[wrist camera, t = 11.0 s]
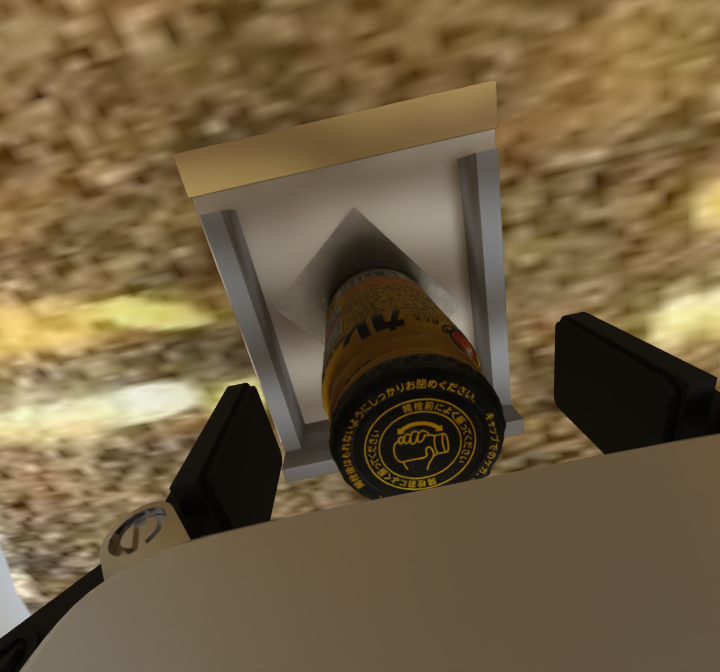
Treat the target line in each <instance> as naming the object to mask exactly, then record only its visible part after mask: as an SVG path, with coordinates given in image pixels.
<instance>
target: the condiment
mask: <svg viewBox="0 0 720 672" xmlns="http://www.w3.org/2000/svg"><path fill="white" fill-rule="evenodd" d="M323 299H324V301H325V302H323ZM460 305H461V304H460V303H458V302H457V301H456V300H455V299H454V298H453V297H452V296H451V295H450V294H449V293H447V292H446V291H445V290H444V289H443V288H442V287H441V286H440V285H439V284H438V283H437V282H435V281H434V280H433V279H432V278H431V277H430V276H429V275H428V274H427V273H426V272H425V271H423V270H422V269H421V268H420V267H419V266H418V265H417V264H416V263H415V262H414V261H413V260H411V259H410V257H408V256H407V255H406V254H405V253H404V252H403V251H402V250H401V249H399V248H398V247H397V246H396V245H395V244H394V243H393V242H392V241H391V240H390V239H389V238H387V237H386V236H385V235H384V234H383V233H382V232H381V231H380V230H379V229H378V228H376V227H375V226H374V225H373V224H372V223H371V222H370V221H369V220H368V219H367V218H366V217H365V216H363V215H362V214H361V213H360V212H359V211H358V210H357V209H356V208H355V207H354V208H353V209H352V210H351V211H350V212H349V214H348V215H347V216H346V217H345V219H344V220H343V221H342V222H341V224H340V225H339V226H338V227H337V229H336V230H335V231H334V232H333V234H332V235H331V236H330V237H329V239H328V240H327V241H326V242H325V243H324V245H323V246H322V247H321V248H320V250H319V251H318V252H317V253H316V255H315V256H314V257H313V258H312V260H311V261H310V262H309V263H308V265H307V266H306V267H305V268H304V270H303V271H302V272H301V273H300V275H299V276H298V277H297V279H296V280H295V281H294V282H293V284H292V285H291V286H290V287H289V288H288V290H287V291H286V292H285V294H284V295H283V296H282V297H281V299H280V300H279V301H278V302H277V304H276V305H275V306H274V307H273V308H274V309H276V310H277V311H279V312H280V313H281V314H282V315H283V316H285V317H286V318H288V319H289V320H291V321H292V322H293V323H295V324H296V325H297V326H298V327H300V328H301V329H302V330H304V331H306V332H307V333H308V334H309V335H311V336H312V337H313V338H314V339H316V340H318V341H319V342H320V343H322V344H323V345H324V346H325V350H324V354H323V357H324V358H323V371H322V383H321V386H322V400H323V408H324V410H325V412H326V414H327V417H328V420H329V424H330V430H329V432H330V437H329V441H328V442H329V448H330V453H331V456H332V457H333V461H334V462H335V463H336V465H337V467H338V469H339V471H340V472H341V474H342V476H343V479H344V480H345V482H346V483H347V484H349V485H350V486H351V487H352V488H353V489H354V490H356V491H357V492H359V493H360V494H362V495H363V496H364V497H366V498H369V499H371V500H375V499H380V498H386V497H391V496H396V495H401V494H406V493H411V492H416V491H421V490H426V489H431V488H436V487H441V486H446V485H451V484H456V483H461V482H466V481H471V480H476V479H481V478H484V477H486V476H488V475H489V474H490V471H491V468H492V466H493V464H494V463H495V462H496V460H497V459H498V457H499V455H500V453H501V450H502V444H503V440H504V432H505V429H506V421H505V418H504V414H503V407H502V404H501V402H500V399H499V397H498V395H497V394H496V392H495V390H494V388H493V387H492V386H491V385H490V383H489V382H488V381H487V379H486V378H485V376H483V374H482V369H481V364H480V361H479V358H478V355H477V352H476V351H475V349H474V347H473V346H472V344H471V343H470V342H469V341H468V339H467V338H466V336H465V335H464V334H463V333H462V331H461V330H460V329H458V327H457V326H456V325H455V324H454V323H453V322H452V321H451V320H450V318H449V317H450V316H451V315H452V314H453V313H454V312H455V310H456V309H457V308H458V307H459V306H460ZM325 306H327V308H325Z"/></svg>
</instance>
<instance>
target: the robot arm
mask: <svg viewBox="0 0 720 672" xmlns="http://www.w3.org/2000/svg"><path fill="white" fill-rule="evenodd" d="M716 382H717V377H715V376H713V375H711V374H709V373H707V372H705V371H703V370H701V369H699V368H697V367H695V366H693V365H691V364H689V363H687V362H685V361H683V360H681V359H679V358H677V357H675V356H673V355H671V354H669V353H667V352H665V351H663V350H661V349H659V348H657V347H655V346H653V345H651V344H649V343H647V342H645V341H643V340H641V339H639V338H637V337H635V336H633V335H631V334H629V333H627V332H625V331H623V330H621V329H619V328H617V327H615V326H613V325H611V324H609V323H606V322H604V321H602V320H600V319H598V318H596V317H594V316H592V315H590V314H588V313H586V312H580V313H575V314H570V315H566V316H563V317H562V318H561V320H560V322H557V323H556V326H555V367H554V400H555V403H556V405H557V407H558V408H559V409H560V410H561V411H562V412H563V413H564V414H565V415H566V416H567V417H568V418H569V419H570V420H571V421H572V422H573V423H574V424H575V425H576V426H577V427H578V428H579V429H580V430H581V431H582V432H583V433H584V434H585V435H586V436H587V437H588V438H589V439H590V440H591V441H592V442H593V443H594V444H595V445H596V446H597V447H598V448H599V449H600V450H601V451H602V452H603V453H604V454H605V455H600V456H594V457H589V458H584V459H579V460H574V461H568V462H563V463H558V464H553V465H548V466H543V467H538V468H533V469H527V470H522V471H517V472H512V473H507V474H502V475H497V476H492V477H486V478H481V479H476V480H471V481H466V482H461V483H456V484H451V485H446V486H441V487H436V488H431V489H426V490H421V491H416V492H411V493H406V494H401V495H396V496H391V497H386V498H380V499H375V500H370V501H365V502H360V503H356V504H351V505H346V506H341V507H336V508H331V509H326V510H321V511H316V512H311V513H306V514H301V515H296V516H291V517H286V518H281V519H277V520H272V521H270V518H271V513H272V509H273V504H274V499H275V494H276V490H277V485H278V480H279V476H280V471H281V466H282V455H281V451H280V448H279V446H278V443H277V441H276V438H275V435H274V433H273V430H272V428H271V425H270V422H269V420H268V417H267V414H266V412H265V409H264V407H263V404H262V401H261V399H260V396H259V394H258V391H257V389H256V387H255V386H250V385H249V384H248V383H242V384H238V385H233V386H228V387H227V389H226V390H225V392H224V394H223V396H222V397H221V399H220V401H219V402H218V404H217V406H216V408H215V409H214V411H213V413H212V415H211V416H210V418H209V420H208V422H207V423H206V425H205V427H204V429H203V430H202V432H201V434H200V436H199V437H198V439H197V441H196V443H195V444H194V446H193V448H192V450H191V451H190V453H189V455H188V457H187V458H186V460H185V462H184V464H183V465H182V467H181V469H180V471H179V472H178V474H177V476H176V478H175V479H174V481H173V483H172V485H171V486H170V488H169V489H170V490H171V492H170V494H169V496H168V497H167V499H166V501H165V502H164V501H158V502H152V503H149V504H146V505H143V506H141V507H139V508H138V509H136V510H134V511H132V512H131V513H129V514H128V515H127V516H125V517H124V518H123V519H121V520H120V521H119V522H118V523H117V524H116V525H115V526H114V527H113V528H112V529H111V530H110V532H109V533H108V534H107V536H106V537H105V538H104V540H103V542H102V545H101V547H100V554H99V557H100V562H101V564H100V565H99V566H97V567H96V568H95V569H93V570H92V571H91V572H89V573H88V574H87V575H85V576H84V577H82V578H81V579H80V580H78V581H77V582H76V583H74V584H73V585H72V586H70V587H69V588H68V589H66V590H65V591H64V592H62V593H61V594H60V595H58V596H57V597H56V598H54V599H53V600H52V601H50V602H49V603H47V604H46V605H45V606H43V607H42V608H41V609H39V610H38V611H37V612H35V613H34V614H33V615H31V616H30V617H29V618H27V619H26V620H25V621H23V622H22V623H21V624H19V625H18V626H17V627H15V628H14V629H12V630H11V631H10V632H8V634H6V635H4V636H3V637H2V638H0V672H720V392H719V391H717V390H715V386H716Z"/></svg>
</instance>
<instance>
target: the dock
mask: <svg viewBox="0 0 720 672" xmlns="http://www.w3.org/2000/svg"><path fill="white" fill-rule="evenodd" d="M497 127H498V115H497V96H496V80H493V81H489V82H484V83H480V84H476V85H471V86H467V87H463V88H458V89H454V90H450V91H445V92H441V93H437V94H432V95H428V96H424V97H419V98H415V99H411V100H406V101H402V102H398V103H393V104H389V105H385V106H380V107H376V108H372V109H367V110H363V111H359V112H354V113H350V114H346V115H341V116H337V117H333V118H328V119H324V120H320V121H315V122H311V123H307V124H302V125H298V126H294V127H289V128H285V129H281V130H276V131H272V132H268V133H263V134H259V135H255V136H250V137H246V138H242V139H237V140H233V141H229V142H224V143H220V144H216V145H211V146H207V147H203V148H198V149H194V150H190V151H185V152H181V153H177V154H173V157H174V160H175V162H176V165H177V168H178V171H179V173H180V176H181V179H182V181H183V184H184V187H185V190H186V192H187V195H188V198H192V200H193V203H194V206H195V208H196V211H197V214H198V217H199V219H200V222H201V225H202V228H203V230H204V233H205V236H206V239H207V241H208V244H209V247H210V250H211V252H212V255H213V258H214V261H215V263H216V266H217V269H218V271H219V274H220V277H221V280H222V282H223V285H224V288H225V291H226V293H227V296H228V299H229V302H230V304H231V307H232V310H233V313H234V315H235V318H236V321H237V324H238V326H239V329H240V332H241V334H242V337H243V340H244V343H245V345H246V348H247V351H248V354H249V356H250V359H251V362H252V365H253V367H254V370H255V373H256V376H257V378H258V381H259V384H260V387H261V389H262V392H263V395H264V397H265V400H266V403H267V406H268V408H269V411H270V414H271V417H272V419H273V422H274V425H275V428H276V430H277V433H278V436H279V439H280V441H281V442H282V443H283V446H284V449H285V452H286V453H285V458H284V463H283V468H282V471H283V474H284V477H285V479H286V482H287V483H289V482H294V481H299V480H304V479H309V478H313V477H318V476H323V475H328V474H332V473H337V472H340V471H339V469H338V467H337V465H336V463H335V462H334V461H333V457H332V456H331V453H330V448H329V442H328V441H329V437H330V432H329V430H330V424H329V420H328V417H327V414H326V412H325V410H324V408H323V400H322V386H321V383H322V371H323V358H324V357H323V354H324V350H325V346H324V345H323V344H322V343H320V342H319V341H318V340H316V339H314V338H313V337H312V336H311V335H309V334H308V333H307V332H306V331H304V330H302V329H301V328H300V327H298V326H297V325H296V324H295V323H293V322H292V321H291V320H289V319H288V318H286V317H285V316H283V315H282V314H281V313H280V312H279V311H277V310H276V309H274V308H273V307H274V306H275V305H276V304H277V302H278V301H279V300H280V299H281V297H282V296H283V295H284V294H285V292H286V291H287V290H288V288H289V287H290V286H291V285H292V284H293V282H294V281H295V280H296V279H297V277H298V276H299V275H300V273H301V272H302V271H303V270H304V268H305V267H306V266H307V265H308V263H309V262H310V261H311V260H312V258H313V257H314V256H315V255H316V253H317V252H318V251H319V250H320V248H321V247H322V246H323V245H324V243H325V242H326V241H327V240H328V239H329V237H330V236H331V235H332V234H333V232H334V231H335V230H336V229H337V227H338V226H339V225H340V224H341V222H342V221H343V220H344V219H345V217H346V216H347V215H348V214H349V212H350V211H351V210H352V209H353V208H354V207H355V208H356V209H357V210H358V211H359V212H360V213H361V214H362V215H363V216H365V217H366V218H367V219H368V220H369V221H370V222H371V223H372V224H373V225H374V226H375V227H376V228H378V229H379V230H380V231H381V232H382V233H383V234H384V235H385V236H386V237H387V238H389V239H390V240H391V241H392V242H393V243H394V244H395V245H396V246H397V247H398V248H399V249H401V250H402V251H403V252H404V253H405V254H406V255H407V256H408V257H410V259H411V260H413V261H414V262H415V263H416V264H417V265H418V266H419V267H420V268H421V269H422V270H423V271H425V272H426V273H427V274H428V275H429V276H430V277H431V278H432V279H433V280H434V281H435V282H437V283H438V284H439V285H440V286H441V287H442V288H443V289H444V290H445V291H446V292H447V293H449V294H450V295H451V296H452V297H453V298H454V299H455V300H456V301H457V302H458V303H460V304H461V305H460V306H459V307H458V308H457V309H456V310H455V312H454V313H453V314H452V315H451V316H450V317H449V318H450V320H451V321H452V322H453V323H454V324H455V325H456V326H457V327H458V329H460V330H461V331H462V333H463V334H464V335H465V336H466V338H467V339H468V341H469V342H470V343H471V344H472V346H473V347H474V349H475V351H476V352H477V355H478V358H479V361H480V364H481V369H482V374H483V376H485V378H486V379H487V381H488V382H489V383H490V385H491V386H492V387H493V388H494V390H495V392H496V394H497V395H498V397H499V399H500V402H501V404H502V407H503V414H504V418H505V421H506V429H505V432H504V437H508V436H513V435H518V434H523V433H524V421H523V418H522V417H521V416H520V414H519V413H518V412H517V411H516V410H515V409H514V407H513V406H512V405H511V395H510V376H509V356H508V337H507V318H506V299H505V279H504V260H503V241H502V222H501V202H500V183H499V164H498V148H496V143H495V128H497ZM323 302H325V301H324V299H323ZM325 308H327V306H325Z"/></svg>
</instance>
